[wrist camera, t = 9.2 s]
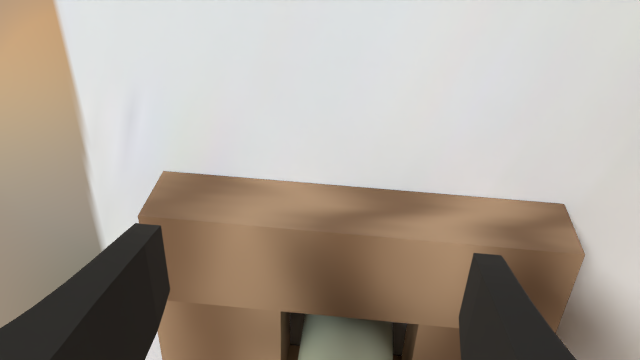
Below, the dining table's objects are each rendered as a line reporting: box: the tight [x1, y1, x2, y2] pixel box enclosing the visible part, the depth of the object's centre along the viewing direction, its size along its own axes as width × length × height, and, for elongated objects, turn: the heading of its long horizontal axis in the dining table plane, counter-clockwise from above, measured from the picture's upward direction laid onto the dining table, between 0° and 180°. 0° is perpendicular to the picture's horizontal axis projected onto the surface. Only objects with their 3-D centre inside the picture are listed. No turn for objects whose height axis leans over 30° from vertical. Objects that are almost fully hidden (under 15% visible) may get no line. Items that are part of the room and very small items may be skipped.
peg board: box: [138, 171, 585, 360], centre depth 26 cm, size 16×14×3 cm
